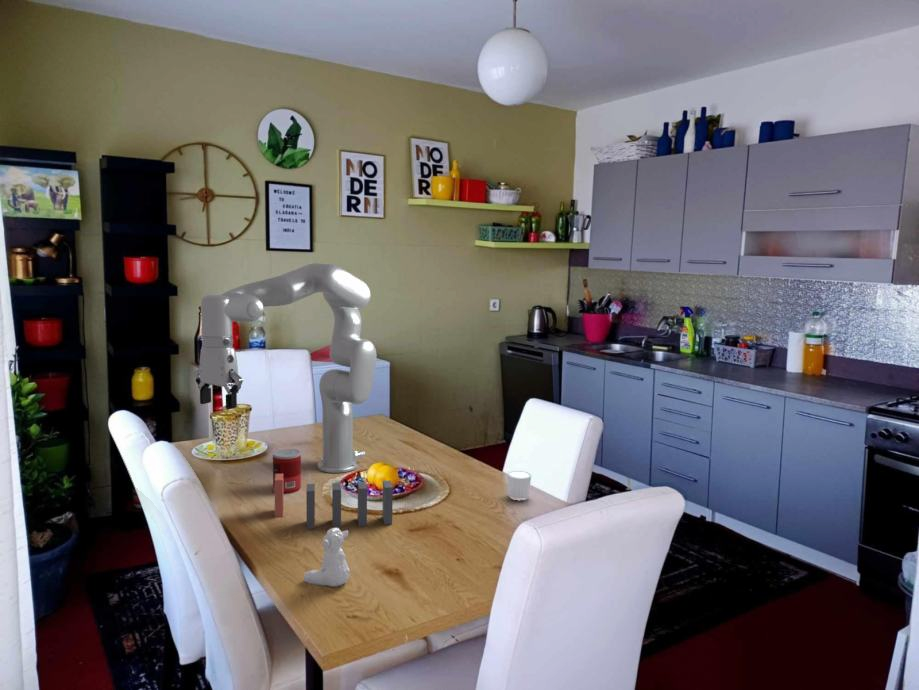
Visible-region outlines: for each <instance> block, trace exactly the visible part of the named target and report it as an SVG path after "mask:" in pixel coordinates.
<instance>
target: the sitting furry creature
mask: <svg viewBox="0 0 919 690" xmlns="http://www.w3.org/2000/svg"><path fill="white" fill-rule="evenodd" d="M348 536H349V531H348V530H343V531H341V529H340V527H339V528H333V527H331V528H330V529H329V530H327V531H326V534H325V535H324V536H323V538H322V542H321V546H323V547H324V550H323V555H322V562H321V566H320V570H318V569H310V570H308V571H305V572H304V575H303V580H304V581H305V582H306V583H308V584H310V585H311V584H312V585H318V586H324V587H325V586H326V587H331V588H335V587H340V586H343V585H344V584H346V582H347V581H348V580H349V578H350V573H351V569H350V568H349V566H348V562H347V560H346V554H345V552H344V550H343V549H342V545H343V544H344V542H345V540H344V539H345V538H347V537H348Z"/></svg>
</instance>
